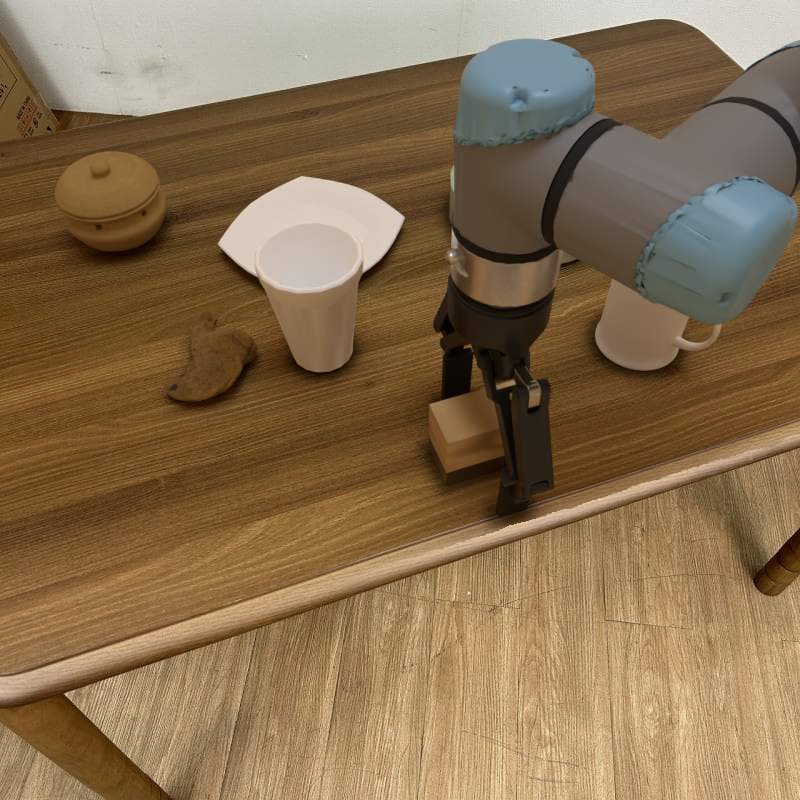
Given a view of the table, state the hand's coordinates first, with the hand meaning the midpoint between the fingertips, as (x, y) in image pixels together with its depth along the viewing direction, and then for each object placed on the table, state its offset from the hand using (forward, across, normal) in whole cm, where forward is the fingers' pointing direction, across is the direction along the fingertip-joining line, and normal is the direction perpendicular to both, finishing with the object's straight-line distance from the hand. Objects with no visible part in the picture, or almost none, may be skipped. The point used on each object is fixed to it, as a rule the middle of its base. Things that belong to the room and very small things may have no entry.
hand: (481, 450), depth 69 cm
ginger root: (0, -19, -22) cm, 29 cm away
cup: (0, -17, -10) cm, 20 cm away
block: (0, 0, 0) cm, 0 cm away
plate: (0, -35, -7) cm, 35 cm away
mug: (0, -6, +21) cm, 22 cm away
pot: (+1, -44, -28) cm, 52 cm away
